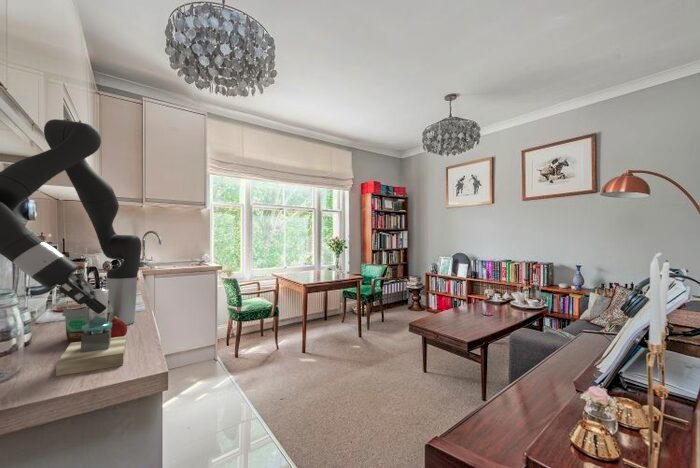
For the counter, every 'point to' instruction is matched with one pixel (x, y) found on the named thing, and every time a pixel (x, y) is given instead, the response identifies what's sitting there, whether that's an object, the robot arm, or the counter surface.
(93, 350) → the wooden base with socket
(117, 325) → the onion
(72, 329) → the food container
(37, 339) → the counter surface
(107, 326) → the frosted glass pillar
